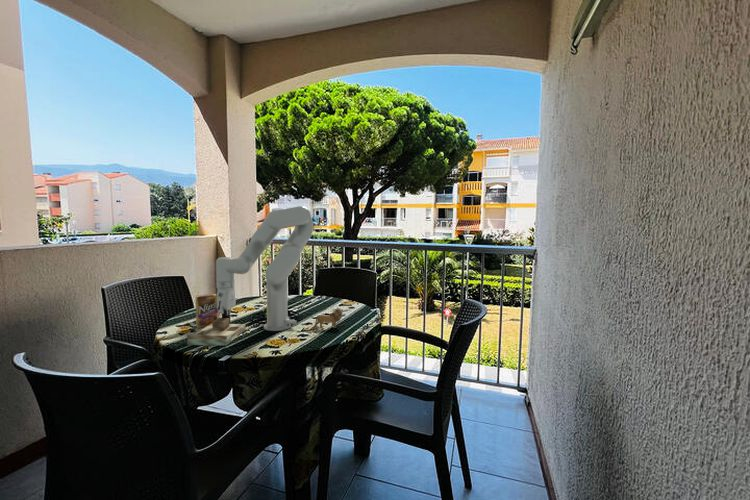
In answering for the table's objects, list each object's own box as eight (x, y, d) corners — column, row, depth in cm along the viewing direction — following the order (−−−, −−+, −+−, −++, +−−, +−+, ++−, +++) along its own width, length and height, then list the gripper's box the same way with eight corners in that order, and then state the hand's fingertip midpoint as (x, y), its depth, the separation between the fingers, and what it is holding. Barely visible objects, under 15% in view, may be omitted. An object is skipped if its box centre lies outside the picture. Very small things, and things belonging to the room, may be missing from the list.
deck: (245, 329, 168) (245, 321, 167) (226, 345, 147) (226, 336, 146) (211, 328, 168) (211, 320, 167) (187, 344, 147) (187, 335, 146)
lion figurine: (340, 325, 177) (340, 307, 176) (344, 328, 172) (344, 309, 171) (311, 328, 171) (311, 309, 170) (313, 331, 166) (313, 312, 165)
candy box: (197, 328, 167) (196, 296, 166) (195, 326, 171) (194, 295, 170) (217, 325, 172) (216, 294, 171) (216, 323, 176) (215, 293, 175)
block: (229, 326, 163) (229, 318, 163) (223, 330, 157) (223, 321, 157) (218, 326, 163) (218, 317, 163) (212, 330, 157) (212, 321, 157)
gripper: (226, 287, 156) (227, 328, 158) (240, 281, 171) (240, 319, 173) (209, 287, 157) (210, 328, 158) (224, 281, 172) (225, 318, 173)
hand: (226, 323), depth 166 cm, fingers closed
